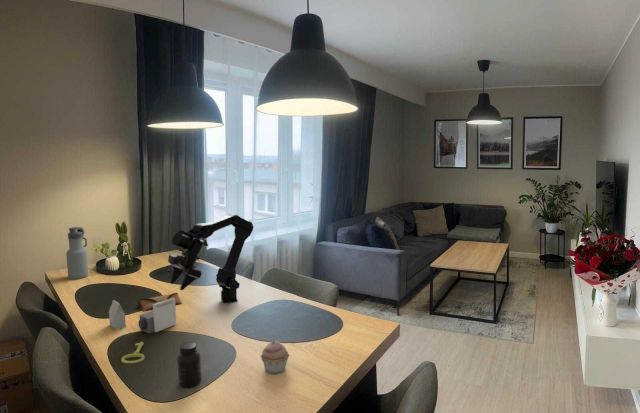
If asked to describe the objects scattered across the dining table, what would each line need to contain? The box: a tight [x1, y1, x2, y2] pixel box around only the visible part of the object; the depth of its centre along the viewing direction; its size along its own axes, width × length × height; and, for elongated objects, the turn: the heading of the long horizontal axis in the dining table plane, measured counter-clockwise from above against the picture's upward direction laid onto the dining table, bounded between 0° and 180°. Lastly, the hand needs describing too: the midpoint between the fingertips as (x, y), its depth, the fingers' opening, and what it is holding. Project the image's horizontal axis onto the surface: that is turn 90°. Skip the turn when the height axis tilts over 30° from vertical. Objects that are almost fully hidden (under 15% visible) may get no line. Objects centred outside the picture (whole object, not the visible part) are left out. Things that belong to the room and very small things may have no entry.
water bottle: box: [66, 226, 89, 280], centre depth 227 cm, size 10×10×28 cm
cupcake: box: [259, 339, 290, 375], centre depth 132 cm, size 9×9×10 cm
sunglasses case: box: [137, 292, 182, 313], centre depth 188 cm, size 18×7×7 cm, turn 125°
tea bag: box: [108, 299, 127, 331], centre depth 164 cm, size 4×7×10 cm, turn 46°
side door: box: [152, 298, 177, 333], centre depth 162 cm, size 9×2×11 cm, turn 144°
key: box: [120, 341, 146, 364], centre depth 141 cm, size 7×12×2 cm, turn 25°
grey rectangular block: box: [137, 310, 155, 334], centre depth 163 cm, size 11×6×6 cm, turn 144°
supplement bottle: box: [176, 341, 203, 389], centre depth 124 cm, size 7×7×12 cm
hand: (176, 286), depth 172 cm, fingers open, 9 cm apart
